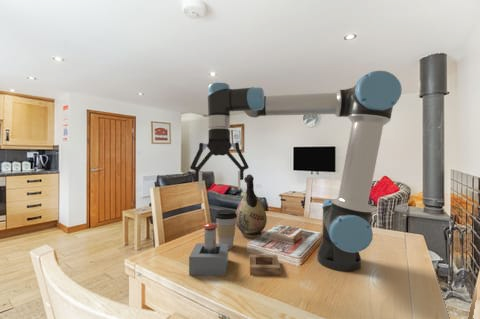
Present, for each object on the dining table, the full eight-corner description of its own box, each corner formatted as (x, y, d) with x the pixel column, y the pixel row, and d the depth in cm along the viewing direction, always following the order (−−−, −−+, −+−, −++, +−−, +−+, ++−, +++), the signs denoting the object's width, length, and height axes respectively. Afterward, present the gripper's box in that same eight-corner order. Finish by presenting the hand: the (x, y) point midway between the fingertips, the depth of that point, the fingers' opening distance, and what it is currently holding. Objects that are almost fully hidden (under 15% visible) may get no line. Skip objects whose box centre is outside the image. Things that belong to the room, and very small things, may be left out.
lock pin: (217, 263, 89) (217, 222, 88) (215, 270, 84) (216, 226, 84) (204, 263, 89) (204, 222, 89) (202, 269, 84) (202, 226, 84)
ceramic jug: (234, 229, 128) (235, 172, 128) (264, 229, 129) (264, 172, 128) (235, 241, 111) (235, 175, 111) (269, 241, 112) (270, 175, 111)
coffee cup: (234, 251, 100) (234, 215, 99) (211, 249, 102) (212, 213, 101) (238, 243, 109) (239, 209, 109) (218, 241, 111) (218, 208, 111)
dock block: (228, 259, 92) (228, 243, 92) (225, 275, 80) (225, 257, 80) (196, 259, 93) (196, 243, 93) (188, 274, 81) (188, 256, 80)
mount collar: (276, 261, 91) (276, 255, 91) (280, 275, 81) (280, 267, 81) (249, 261, 91) (249, 254, 91) (250, 274, 81) (250, 267, 81)
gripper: (254, 129, 90) (254, 187, 90) (186, 130, 90) (187, 188, 90) (255, 127, 82) (255, 190, 83) (180, 128, 82) (182, 191, 83)
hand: (219, 189), depth 87 cm, fingers open, 13 cm apart
